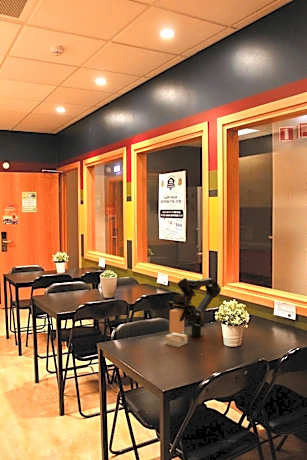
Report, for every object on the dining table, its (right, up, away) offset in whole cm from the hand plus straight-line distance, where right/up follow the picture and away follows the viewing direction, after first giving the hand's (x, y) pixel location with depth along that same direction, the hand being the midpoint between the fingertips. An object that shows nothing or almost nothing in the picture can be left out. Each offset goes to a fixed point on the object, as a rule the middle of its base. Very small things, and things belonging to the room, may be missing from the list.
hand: (175, 320), depth 238 cm
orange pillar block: (+1, -7, +1) cm, 7 cm away
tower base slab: (+1, -14, +2) cm, 14 cm away
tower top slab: (+1, -12, +2) cm, 12 cm away
